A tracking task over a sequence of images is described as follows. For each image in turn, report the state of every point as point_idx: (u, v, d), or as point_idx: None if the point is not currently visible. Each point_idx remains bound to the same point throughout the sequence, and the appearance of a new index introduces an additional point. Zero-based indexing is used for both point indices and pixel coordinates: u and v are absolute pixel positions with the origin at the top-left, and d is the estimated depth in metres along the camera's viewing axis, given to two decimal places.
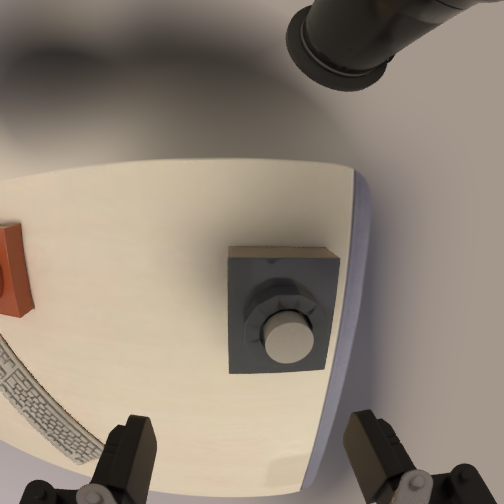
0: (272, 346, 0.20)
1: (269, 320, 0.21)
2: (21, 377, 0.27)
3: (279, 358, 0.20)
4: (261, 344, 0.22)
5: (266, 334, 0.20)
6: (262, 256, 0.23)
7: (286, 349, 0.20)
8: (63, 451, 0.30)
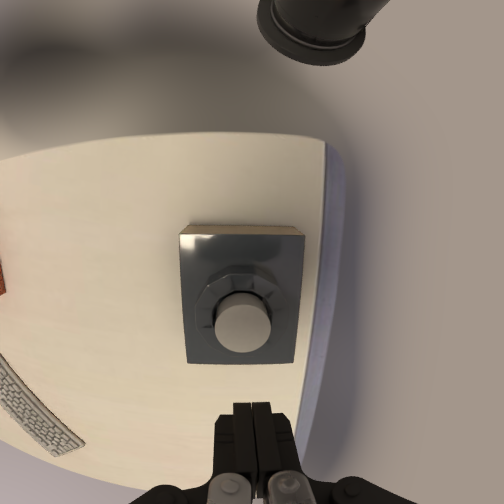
0: (223, 331, 0.18)
1: (222, 303, 0.19)
2: None
3: (232, 346, 0.18)
4: None
5: (216, 318, 0.18)
6: (217, 232, 0.20)
7: (239, 336, 0.18)
8: (40, 442, 0.28)
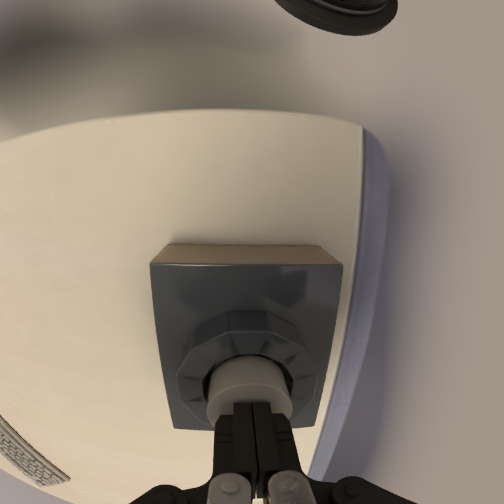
0: None
1: (217, 371, 0.12)
2: None
3: None
4: None
5: (208, 397, 0.11)
6: (208, 261, 0.13)
7: None
8: (23, 472, 0.21)
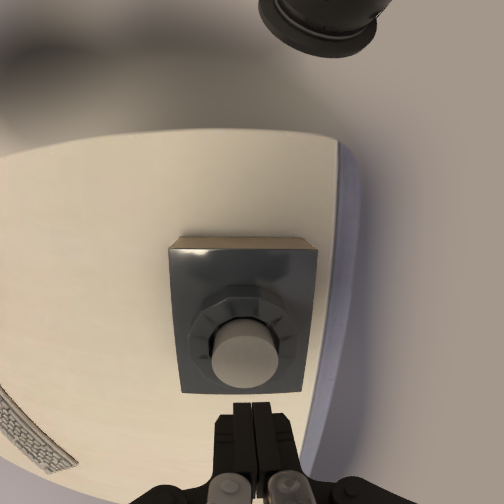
0: (221, 366, 0.15)
1: (220, 331, 0.16)
2: None
3: (232, 382, 0.15)
4: None
5: (213, 349, 0.15)
6: (213, 247, 0.17)
7: (241, 370, 0.15)
8: (32, 459, 0.25)
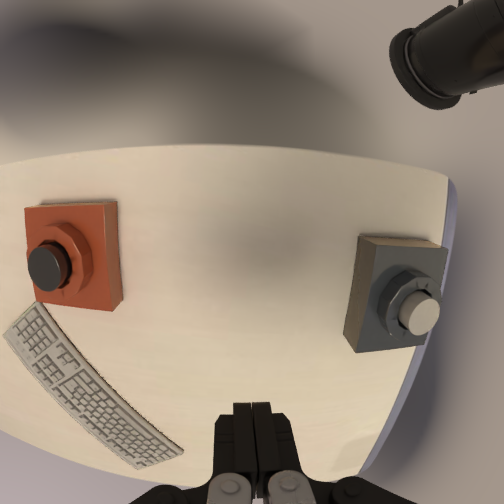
0: (413, 320, 0.21)
1: (407, 299, 0.23)
2: (87, 379, 0.29)
3: (415, 331, 0.22)
4: (397, 321, 0.23)
5: (409, 310, 0.22)
6: (398, 245, 0.24)
7: (421, 322, 0.21)
8: (123, 456, 0.32)
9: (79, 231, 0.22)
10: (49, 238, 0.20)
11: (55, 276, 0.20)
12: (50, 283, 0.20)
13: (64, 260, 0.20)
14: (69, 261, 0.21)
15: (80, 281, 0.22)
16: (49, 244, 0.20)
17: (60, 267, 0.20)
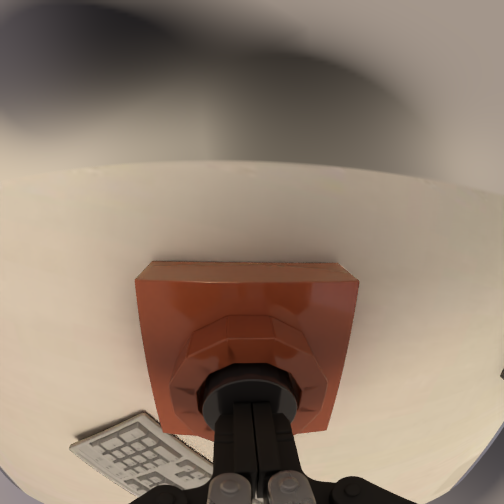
0: None
1: None
2: None
3: None
4: None
5: None
6: None
7: None
8: None
9: (298, 329, 0.13)
10: (249, 361, 0.11)
11: None
12: None
13: None
14: (290, 381, 0.12)
15: (311, 418, 0.12)
16: (256, 363, 0.11)
17: (296, 405, 0.11)
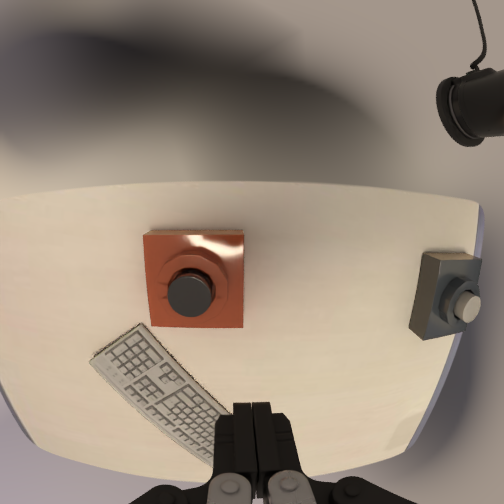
0: (465, 311, 0.27)
1: (460, 297, 0.28)
2: (191, 393, 0.34)
3: (466, 319, 0.27)
4: (453, 313, 0.29)
5: (462, 305, 0.27)
6: (452, 259, 0.30)
7: (470, 313, 0.27)
8: (210, 462, 0.37)
9: (216, 258, 0.28)
10: (189, 266, 0.26)
11: (204, 302, 0.25)
12: (197, 309, 0.25)
13: (210, 286, 0.26)
14: (211, 287, 0.27)
15: (223, 304, 0.27)
16: (192, 272, 0.26)
17: (211, 294, 0.25)
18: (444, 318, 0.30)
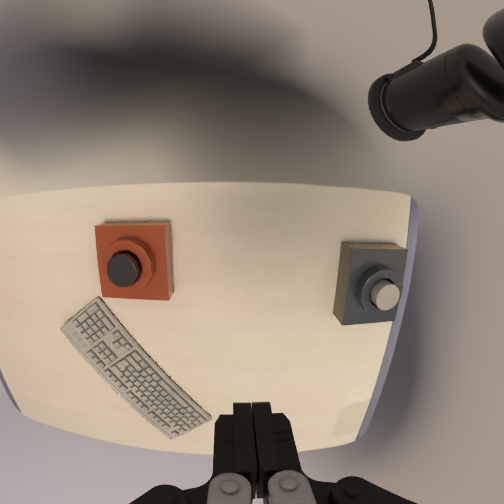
0: (379, 299, 0.33)
1: (375, 285, 0.35)
2: (138, 358, 0.41)
3: (382, 307, 0.34)
4: (369, 300, 0.35)
5: (376, 292, 0.34)
6: (368, 248, 0.36)
7: (386, 301, 0.34)
8: (160, 427, 0.44)
9: (145, 243, 0.35)
10: (123, 249, 0.33)
11: (131, 275, 0.32)
12: (127, 281, 0.32)
13: (137, 264, 0.33)
14: (140, 265, 0.33)
15: (148, 279, 0.34)
16: (124, 253, 0.32)
17: (136, 269, 0.32)
18: (360, 304, 0.36)
